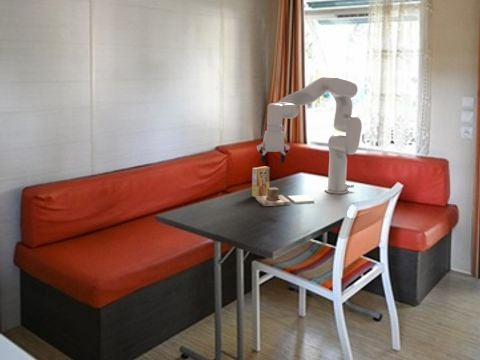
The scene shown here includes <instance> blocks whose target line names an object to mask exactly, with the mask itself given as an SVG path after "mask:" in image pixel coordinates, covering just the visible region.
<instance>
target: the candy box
mask: <svg viewBox="0 0 480 360" xmlns="http://www.w3.org/2000/svg"><path fill="white" fill-rule="evenodd" d="M270 172H271V171H270V167H269V166H265V165H264V166H258V167H252V172H251V173H252V176H251V178H252V179H251V180H252V181H251V196H252V197H254V198H256V196H267V195H268V188H270Z"/></svg>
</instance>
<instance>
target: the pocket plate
mask: <svg viewBox="0 0 480 360" xmlns="http://www.w3.org/2000/svg"><path fill="white" fill-rule="evenodd" d="M255 200H256V201H257V202H258V203H259V204H261V205H262V207H270V206H271V207H272V206H274V207H276V206H289V205H291V204H292V203H291V202H292V201H291V200H290V199H289V198H286V197H285V196H284V195H283V194H279V200H276V201H268V200H267V196H256V197H255Z"/></svg>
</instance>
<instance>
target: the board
mask: <svg viewBox="0 0 480 360" xmlns="http://www.w3.org/2000/svg"><path fill="white" fill-rule="evenodd" d="M287 199H288V200H289V201H290V202H293V203H294V204H295V205H296V204H312V203H315V200H314V199H312V198H311V197H309V196H308V195H307V194H300V195H299V194H295V195H287Z"/></svg>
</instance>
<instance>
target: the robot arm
mask: <svg viewBox="0 0 480 360" xmlns="http://www.w3.org/2000/svg"><path fill="white" fill-rule="evenodd" d="M326 93H327V94H330V95H331V96H332V97H333V99H334V101H335V106H336V107H335V115H334V120H333V127H334V130H335V131H338V132H340V133H345V134H340V133H335V134H332V135H331V136H330V137H329V139H328V140H327V141H328V143H327V145H328V146H327V147H328V156H329V161H328V180H327V181H328V182H327V187H325V188H324V191H325V192H326V193H329V194H334V195H335V194H336V195H337V194H338V195H341V194H342V195H343V194H347V193H348V192H349V189H351V188H354V187H355V185H354V183H352V184H351V183H347V165H348V158H347V155H354V154H355V153H356V152H357V151H358V148H359V146H360V141H361V133H362V125H363V124H362V120H361V119H360V118H359V117H358V116H356V115H352V114H353V100H352V99H351V98H354V97H355V96H356V95H357V94H358V86H357V84H356V83H355V82H353V80H349V79H345V78H342V77H339V76H333V75H321V76H319V77H317V78H316V79H314V80H313V81H312V82H311V83H309V84H308V85H306V86H304V88H302V89H299V90H297V91H294V92H292V93H290V94H287V95H286V96H283V97H282V98H281V99H279V100H278V101H277V102H276V103H275V102H274V103H273V102H272V103H268V105H267V117H266V130H265V131H264V133H263V134H264V135H263V141H262V142H261V143H260V144H259V145H256V149H257V152H258V153H259V155H261V159H260V160H261V162H262V164H266V154H267V153H268V152H271V153H272V152H274V153H275V152H277V153H278V152H280V153H281V154H280V158H279V159H280V163H282V164H284V162H285V159H286V155H287V153H288V152H289V150H290V149H291V146H290V145H289V144H287V143H285V137H284V131H283V130H285V129H286V127H285V126H283V119H290V120H292V119H295V118H296V117H297V116H299V113H300V109H299V106H305V105H310V104H312V103H315V101H317V100H318V99H319V98H321V97H323V96H324V94H326ZM261 148H262V149H261Z"/></svg>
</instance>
